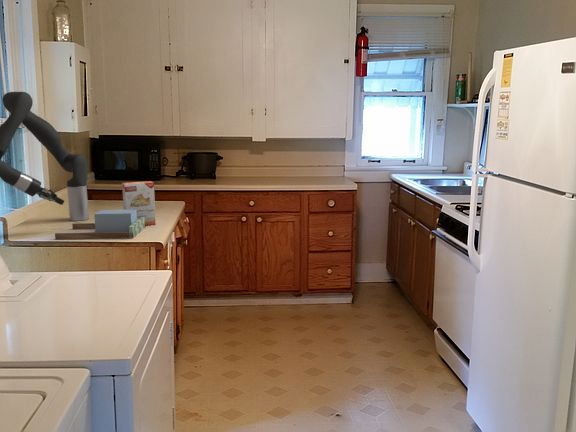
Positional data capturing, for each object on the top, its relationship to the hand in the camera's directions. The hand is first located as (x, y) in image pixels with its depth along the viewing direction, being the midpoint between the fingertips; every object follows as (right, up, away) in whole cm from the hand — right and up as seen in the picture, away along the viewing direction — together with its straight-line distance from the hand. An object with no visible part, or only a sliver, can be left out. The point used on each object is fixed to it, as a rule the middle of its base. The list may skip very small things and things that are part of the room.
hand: (63, 202), depth 255 cm
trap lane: (+19, -14, -4) cm, 24 cm away
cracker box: (+32, -11, +13) cm, 36 cm away
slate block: (+26, -14, -4) cm, 30 cm away
